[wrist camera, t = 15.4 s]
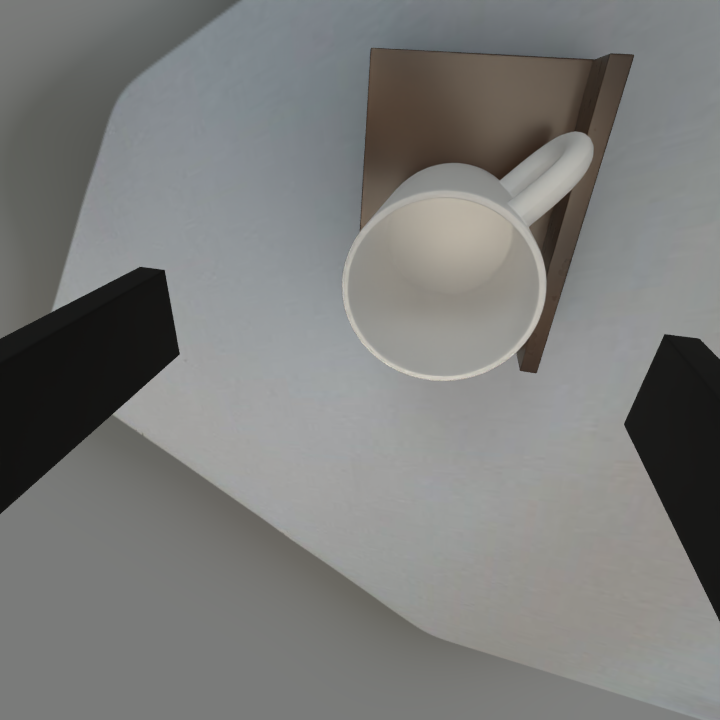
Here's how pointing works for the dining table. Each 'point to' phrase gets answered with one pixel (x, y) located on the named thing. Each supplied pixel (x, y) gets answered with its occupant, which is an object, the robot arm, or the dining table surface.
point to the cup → (458, 263)
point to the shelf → (491, 134)
